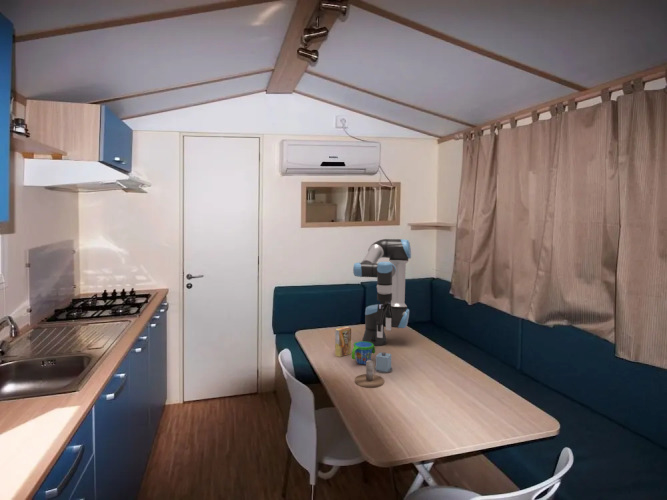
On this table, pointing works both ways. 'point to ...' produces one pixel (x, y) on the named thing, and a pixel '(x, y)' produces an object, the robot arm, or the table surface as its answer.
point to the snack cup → (363, 351)
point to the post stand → (369, 377)
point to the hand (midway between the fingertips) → (384, 333)
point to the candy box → (342, 341)
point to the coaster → (383, 371)
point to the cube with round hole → (383, 362)
